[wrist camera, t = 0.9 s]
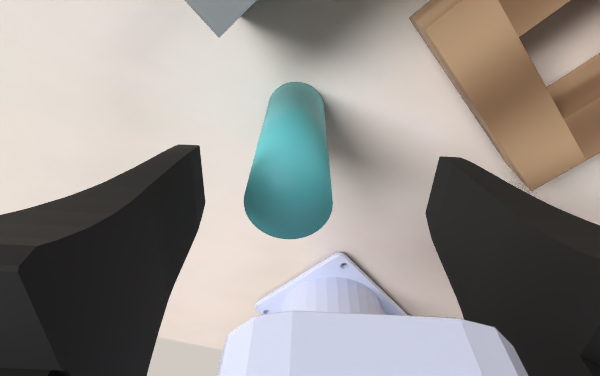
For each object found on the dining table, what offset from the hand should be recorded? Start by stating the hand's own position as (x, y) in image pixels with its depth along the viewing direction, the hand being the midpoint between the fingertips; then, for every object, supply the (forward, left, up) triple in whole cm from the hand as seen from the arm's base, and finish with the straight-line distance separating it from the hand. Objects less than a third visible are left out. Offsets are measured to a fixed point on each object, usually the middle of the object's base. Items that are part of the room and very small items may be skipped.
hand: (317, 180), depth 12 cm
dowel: (0, +2, -10) cm, 10 cm away
